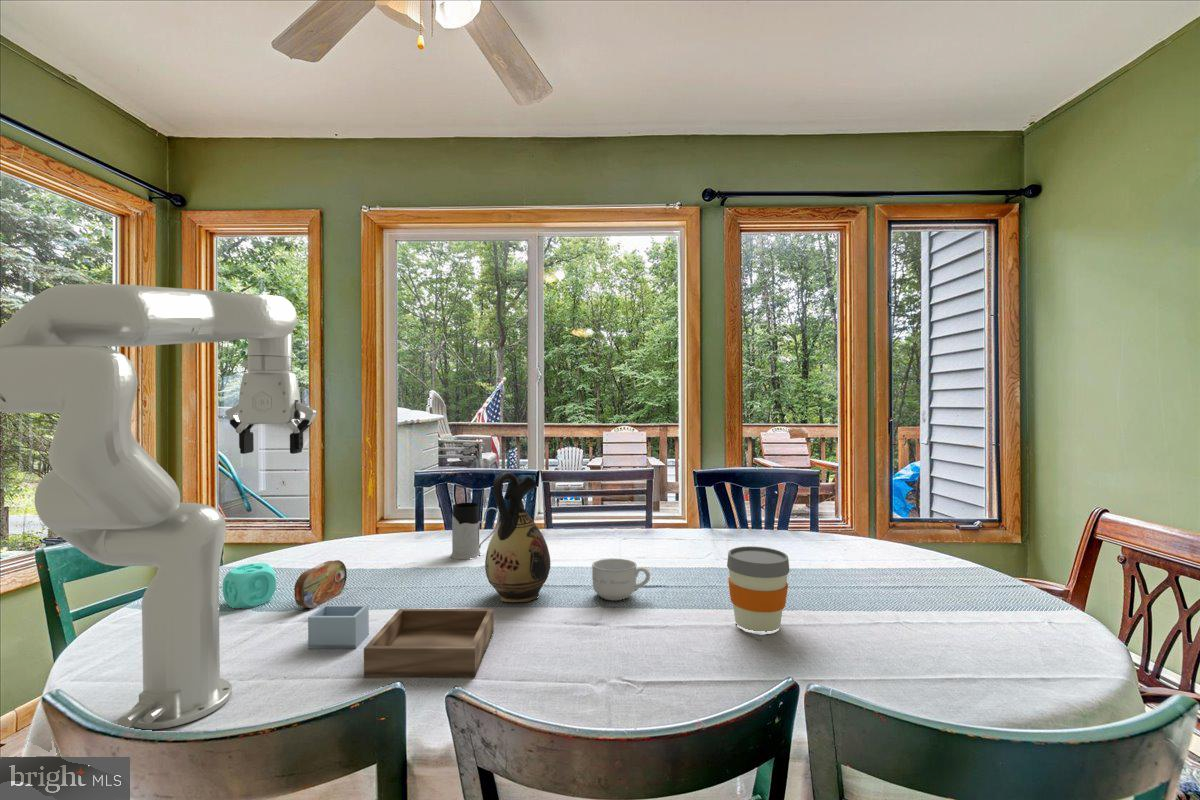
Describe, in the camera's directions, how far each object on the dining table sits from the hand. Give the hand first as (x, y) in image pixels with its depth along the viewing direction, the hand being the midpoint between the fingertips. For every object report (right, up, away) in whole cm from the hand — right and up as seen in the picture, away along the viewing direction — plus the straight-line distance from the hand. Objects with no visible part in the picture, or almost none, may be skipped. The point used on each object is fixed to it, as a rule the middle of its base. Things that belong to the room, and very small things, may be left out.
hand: (271, 452), depth 109 cm
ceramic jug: (+45, -37, +22) cm, 62 cm away
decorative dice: (-16, -37, +19) cm, 44 cm away
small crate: (+14, -37, -1) cm, 39 cm away
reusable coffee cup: (+98, -37, +6) cm, 105 cm away
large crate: (+34, -37, -6) cm, 51 cm away
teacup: (+70, -37, +22) cm, 82 cm away
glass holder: (+28, -36, +56) cm, 72 cm away
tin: (0, -37, +20) cm, 42 cm away
